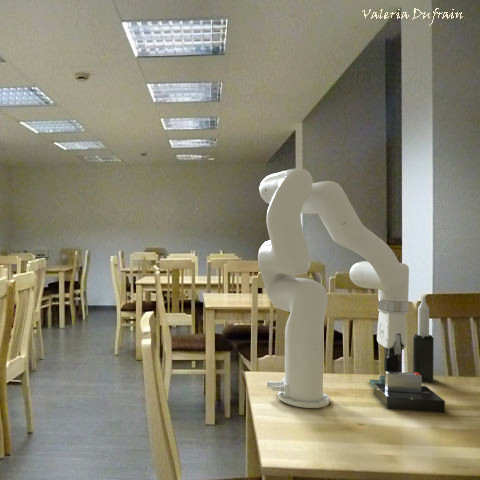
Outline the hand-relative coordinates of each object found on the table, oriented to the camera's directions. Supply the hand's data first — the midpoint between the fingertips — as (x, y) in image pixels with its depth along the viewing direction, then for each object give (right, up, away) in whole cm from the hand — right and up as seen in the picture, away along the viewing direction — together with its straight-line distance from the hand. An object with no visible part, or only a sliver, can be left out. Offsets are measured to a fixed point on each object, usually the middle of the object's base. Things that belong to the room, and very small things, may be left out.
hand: (391, 371), depth 124 cm
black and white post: (+14, -5, +9) cm, 18 cm away
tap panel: (-2, -5, -11) cm, 12 cm away
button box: (0, -5, 0) cm, 5 cm away
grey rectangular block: (-2, -2, -10) cm, 11 cm away
